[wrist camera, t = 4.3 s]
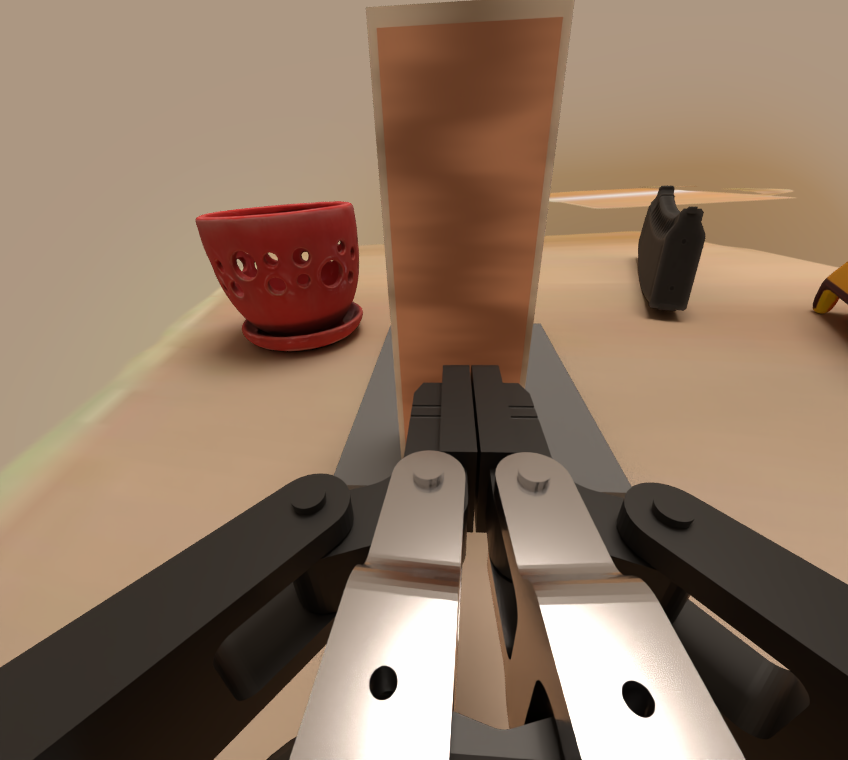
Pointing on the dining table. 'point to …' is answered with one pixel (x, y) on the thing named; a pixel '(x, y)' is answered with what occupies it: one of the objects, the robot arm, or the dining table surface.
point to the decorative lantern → (832, 290)
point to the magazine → (669, 251)
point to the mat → (553, 401)
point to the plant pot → (288, 271)
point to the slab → (465, 177)
